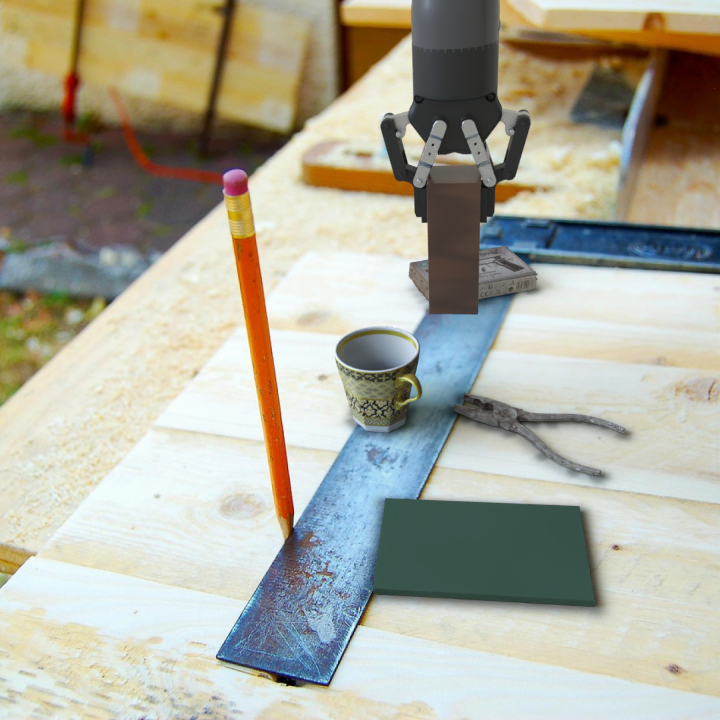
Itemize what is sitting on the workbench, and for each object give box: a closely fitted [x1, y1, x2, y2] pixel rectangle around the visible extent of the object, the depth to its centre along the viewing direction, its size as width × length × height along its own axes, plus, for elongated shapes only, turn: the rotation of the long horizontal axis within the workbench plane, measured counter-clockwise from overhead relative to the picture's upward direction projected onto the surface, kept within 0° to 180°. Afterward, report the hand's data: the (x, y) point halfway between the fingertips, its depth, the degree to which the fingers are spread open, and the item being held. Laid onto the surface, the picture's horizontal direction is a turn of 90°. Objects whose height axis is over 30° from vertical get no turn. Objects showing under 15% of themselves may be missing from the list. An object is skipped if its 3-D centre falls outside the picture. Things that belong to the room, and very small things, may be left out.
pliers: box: [452, 392, 626, 476], centre depth 89 cm, size 10×1×20 cm
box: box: [407, 245, 539, 302], centre depth 120 cm, size 11×17×3 cm, turn 108°
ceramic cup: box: [333, 325, 423, 433], centre depth 90 cm, size 13×10×10 cm
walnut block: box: [426, 164, 482, 316], centre depth 77 cm, size 5×5×14 cm
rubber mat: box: [372, 497, 596, 607], centre depth 75 cm, size 20×12×1 cm, turn 83°
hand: (454, 219), depth 75 cm, fingers closed on walnut block, 5 cm apart
